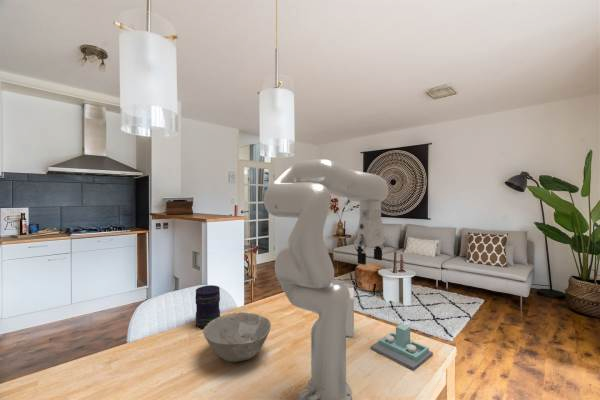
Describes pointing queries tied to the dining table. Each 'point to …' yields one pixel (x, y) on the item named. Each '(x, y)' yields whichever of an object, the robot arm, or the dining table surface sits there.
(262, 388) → the dining table surface
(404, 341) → the teal frame with block
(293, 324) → the dining table surface
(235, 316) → the ceramic bowl
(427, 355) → the board
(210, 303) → the storage jar
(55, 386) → the dining table surface
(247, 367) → the dining table surface
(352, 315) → the milk carton
